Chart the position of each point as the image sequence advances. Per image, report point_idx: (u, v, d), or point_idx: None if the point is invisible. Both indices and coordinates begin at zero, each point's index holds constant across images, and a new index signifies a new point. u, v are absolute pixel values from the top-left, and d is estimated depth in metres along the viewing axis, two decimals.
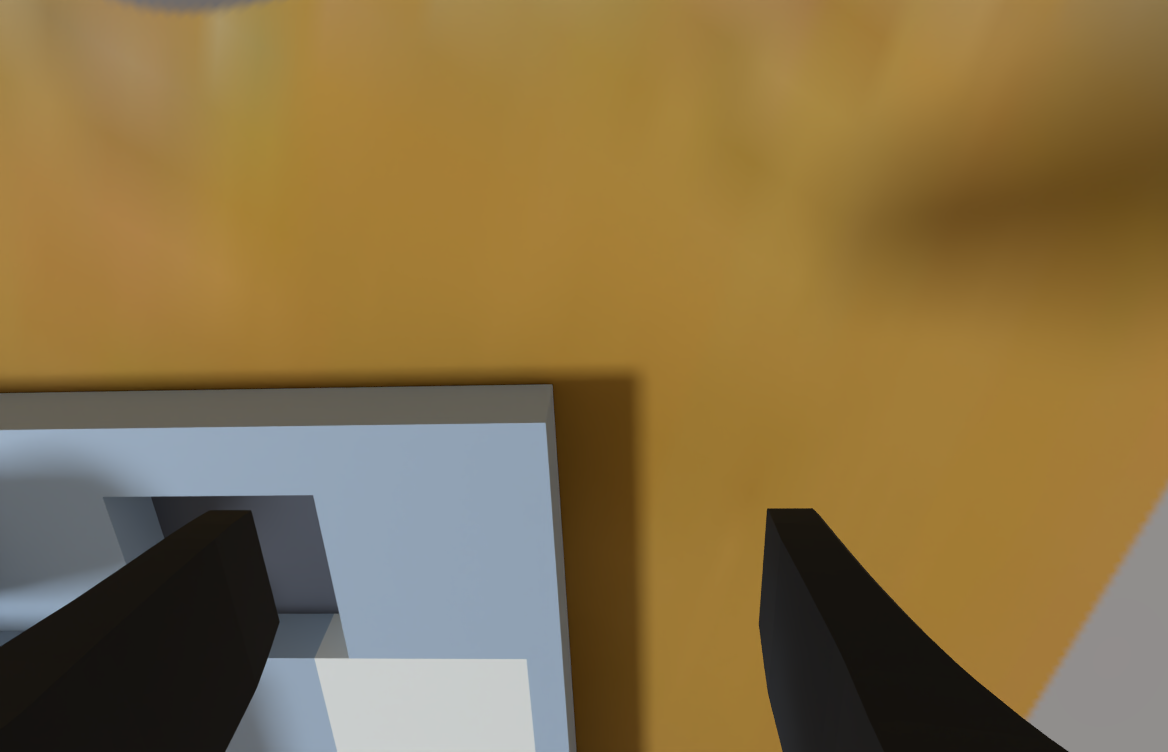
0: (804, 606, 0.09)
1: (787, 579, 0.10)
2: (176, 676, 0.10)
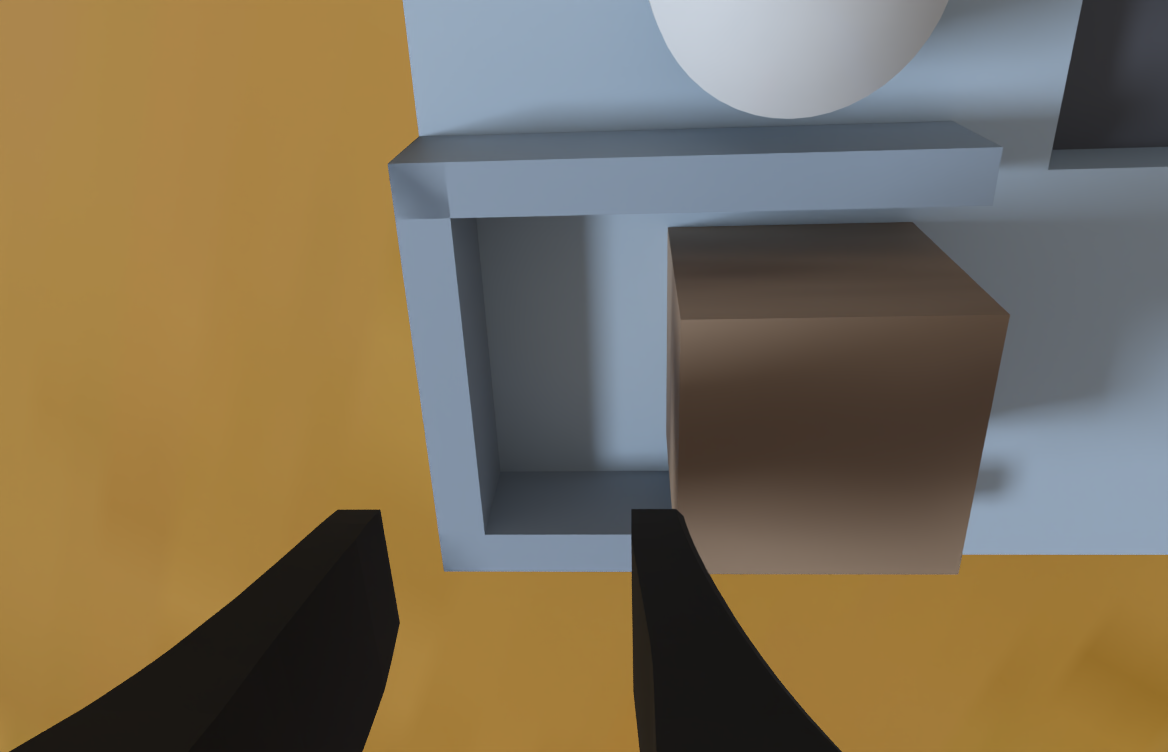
0: (639, 605, 0.09)
1: (634, 579, 0.10)
2: (326, 677, 0.10)
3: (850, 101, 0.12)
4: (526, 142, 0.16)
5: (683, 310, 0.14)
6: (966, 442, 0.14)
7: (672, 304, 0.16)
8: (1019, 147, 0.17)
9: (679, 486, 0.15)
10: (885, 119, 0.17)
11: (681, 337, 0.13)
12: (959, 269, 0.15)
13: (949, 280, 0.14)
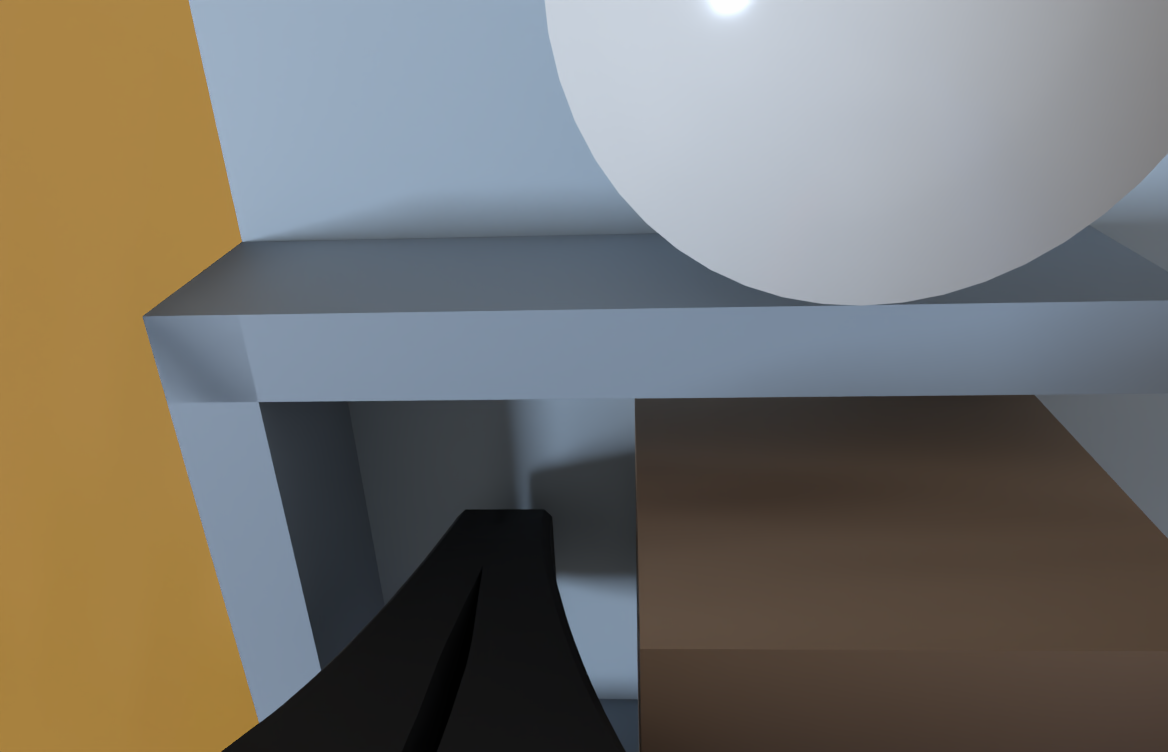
0: None
1: None
2: None
3: (990, 273, 0.05)
4: (399, 262, 0.10)
5: (646, 614, 0.07)
6: None
7: None
8: None
9: None
10: None
11: (642, 675, 0.07)
12: (1127, 500, 0.09)
13: (1121, 535, 0.08)
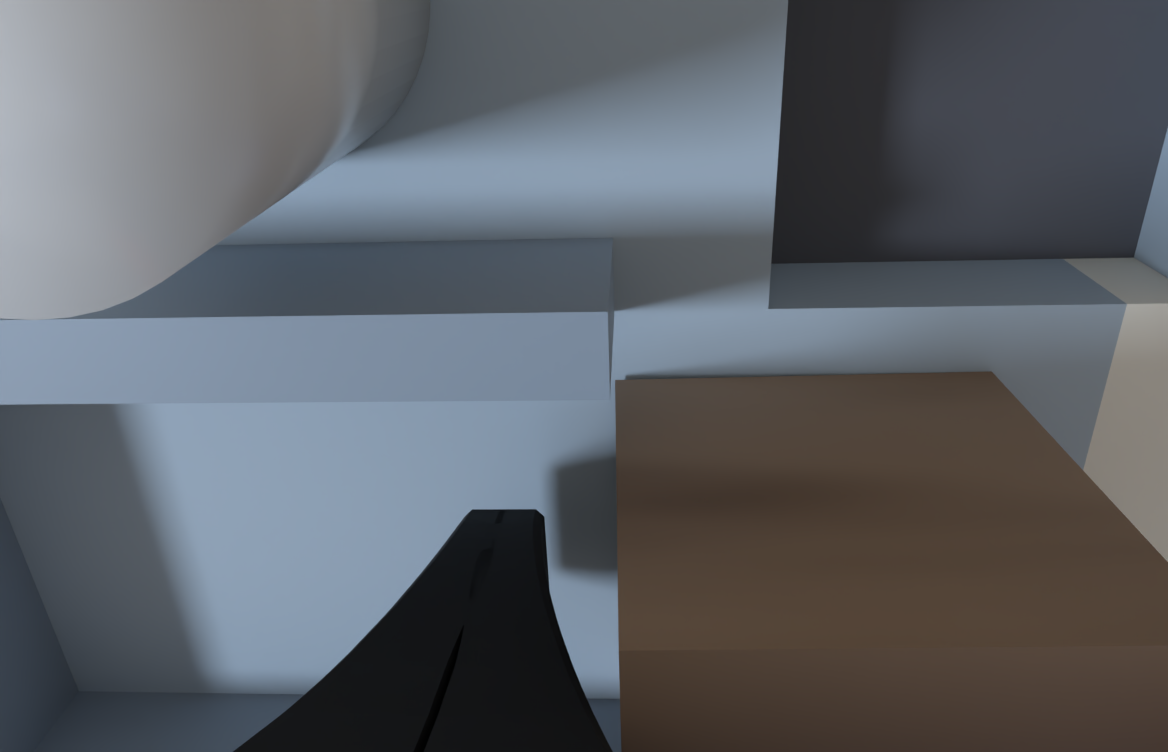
0: None
1: None
2: None
3: (132, 290, 0.06)
4: None
5: (625, 617, 0.07)
6: None
7: None
8: (720, 276, 0.11)
9: None
10: (510, 235, 0.11)
11: (621, 677, 0.07)
12: (1102, 496, 0.09)
13: (1096, 531, 0.08)
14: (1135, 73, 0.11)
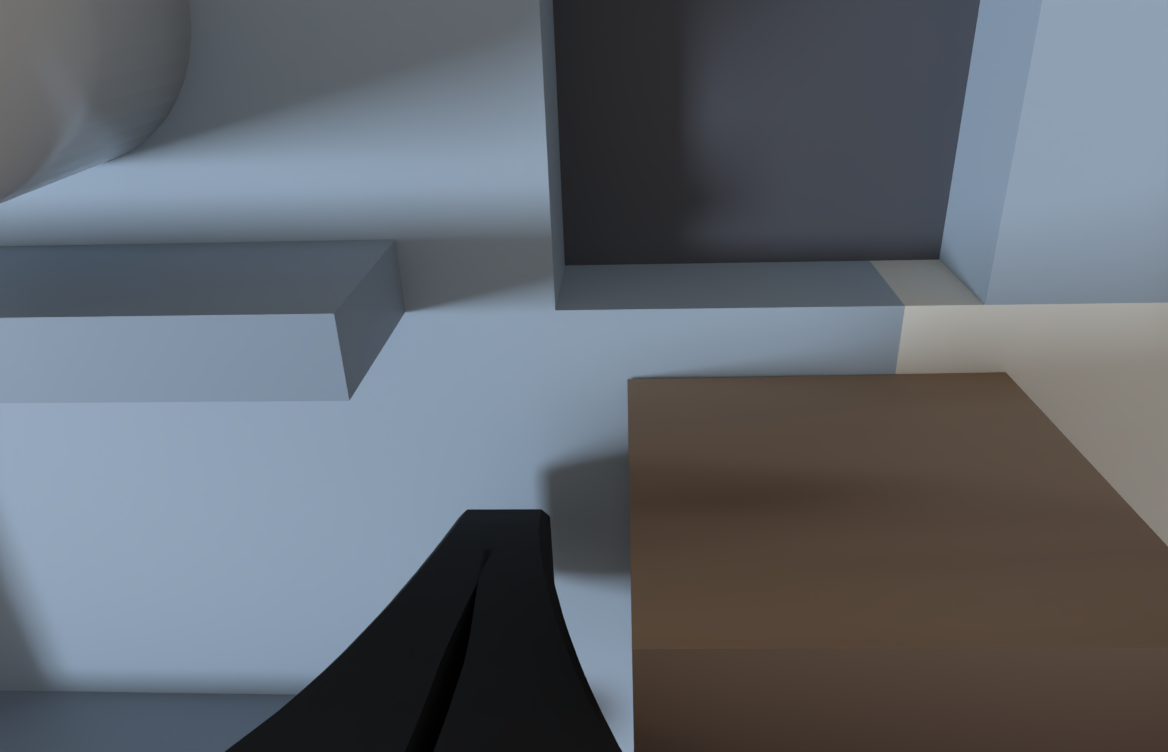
0: None
1: None
2: None
3: None
4: None
5: (639, 615, 0.07)
6: None
7: None
8: (504, 278, 0.11)
9: None
10: (295, 236, 0.11)
11: (634, 675, 0.07)
12: (1118, 498, 0.09)
13: (1111, 534, 0.08)
14: (922, 77, 0.11)
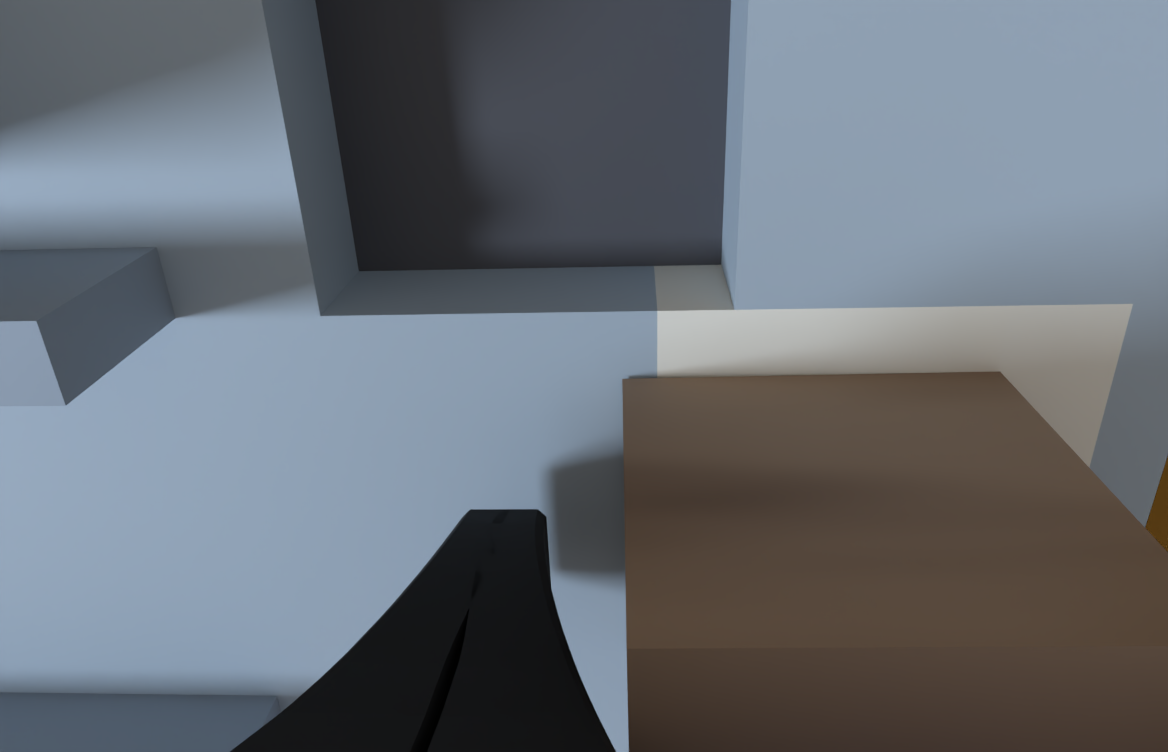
0: None
1: None
2: None
3: None
4: None
5: (633, 614, 0.07)
6: None
7: None
8: (267, 284, 0.11)
9: None
10: (59, 244, 0.11)
11: (629, 675, 0.07)
12: (1111, 497, 0.09)
13: (1104, 531, 0.08)
14: (683, 86, 0.12)
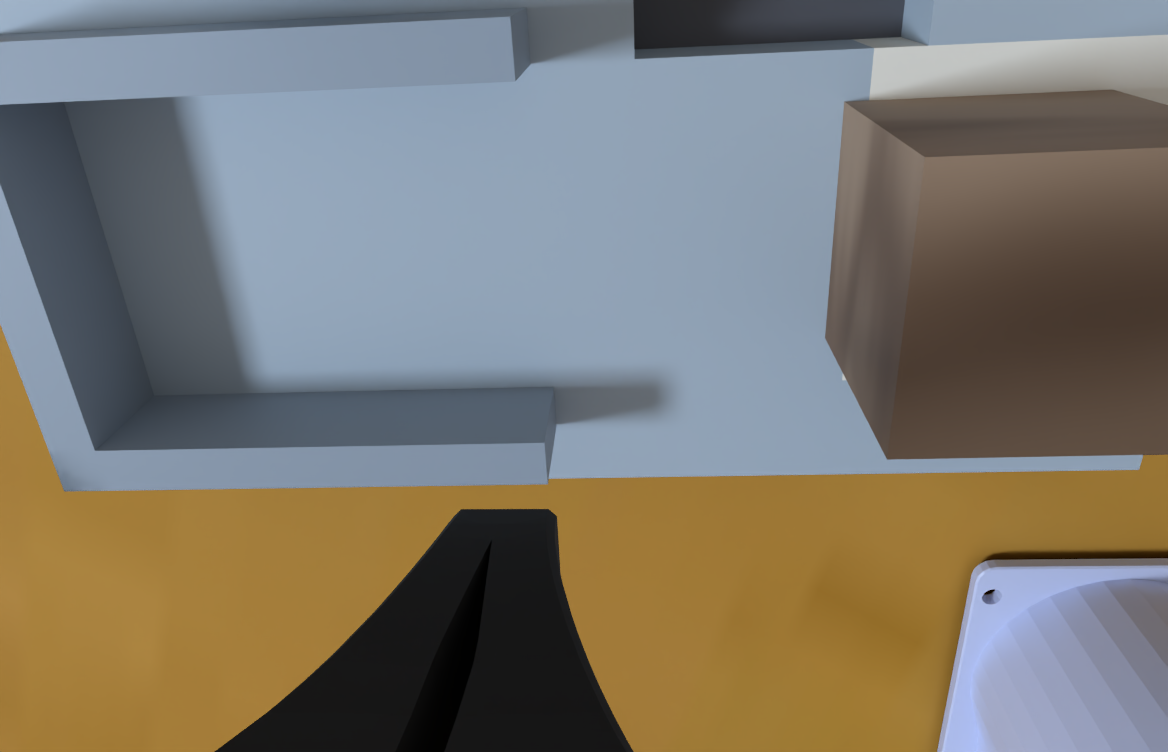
0: None
1: None
2: None
3: None
4: (76, 33, 0.16)
5: (920, 151, 0.12)
6: None
7: (872, 169, 0.15)
8: (600, 35, 0.16)
9: (901, 356, 0.13)
10: (458, 7, 0.16)
11: (923, 178, 0.12)
12: None
13: None
14: None
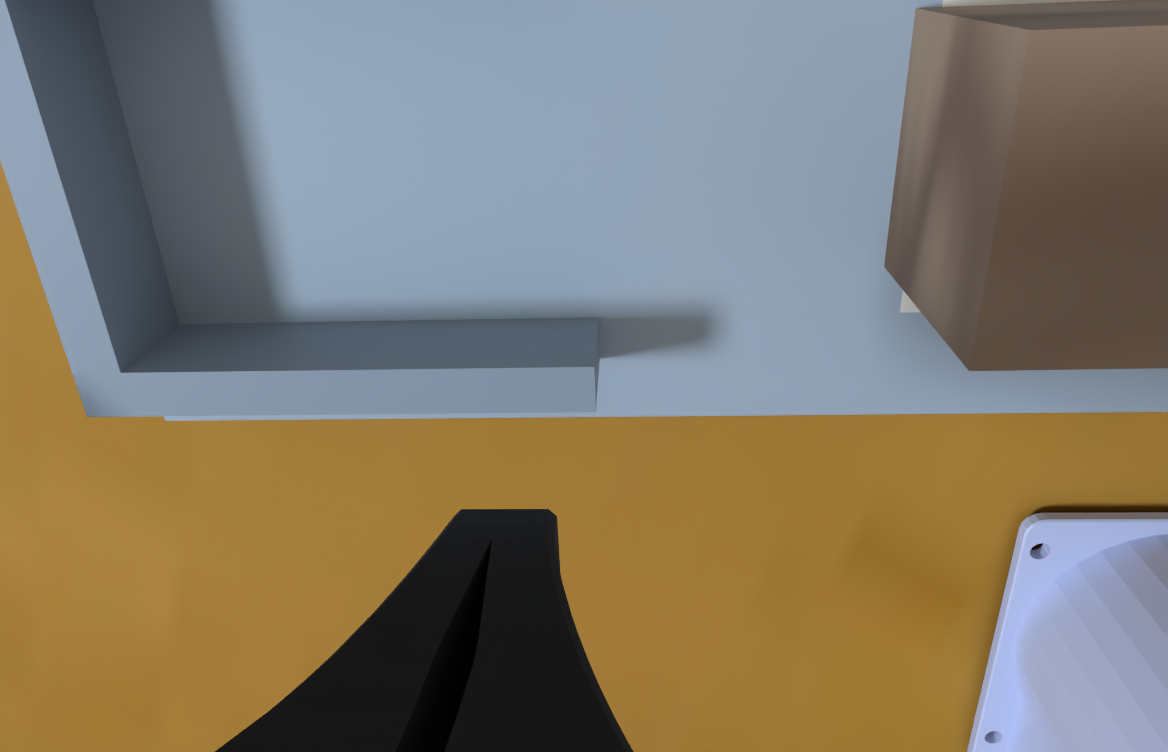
0: None
1: None
2: None
3: None
4: None
5: (1022, 27, 0.12)
6: None
7: (954, 67, 0.14)
8: None
9: (991, 255, 0.13)
10: None
11: (1026, 54, 0.11)
12: None
13: None
14: None
